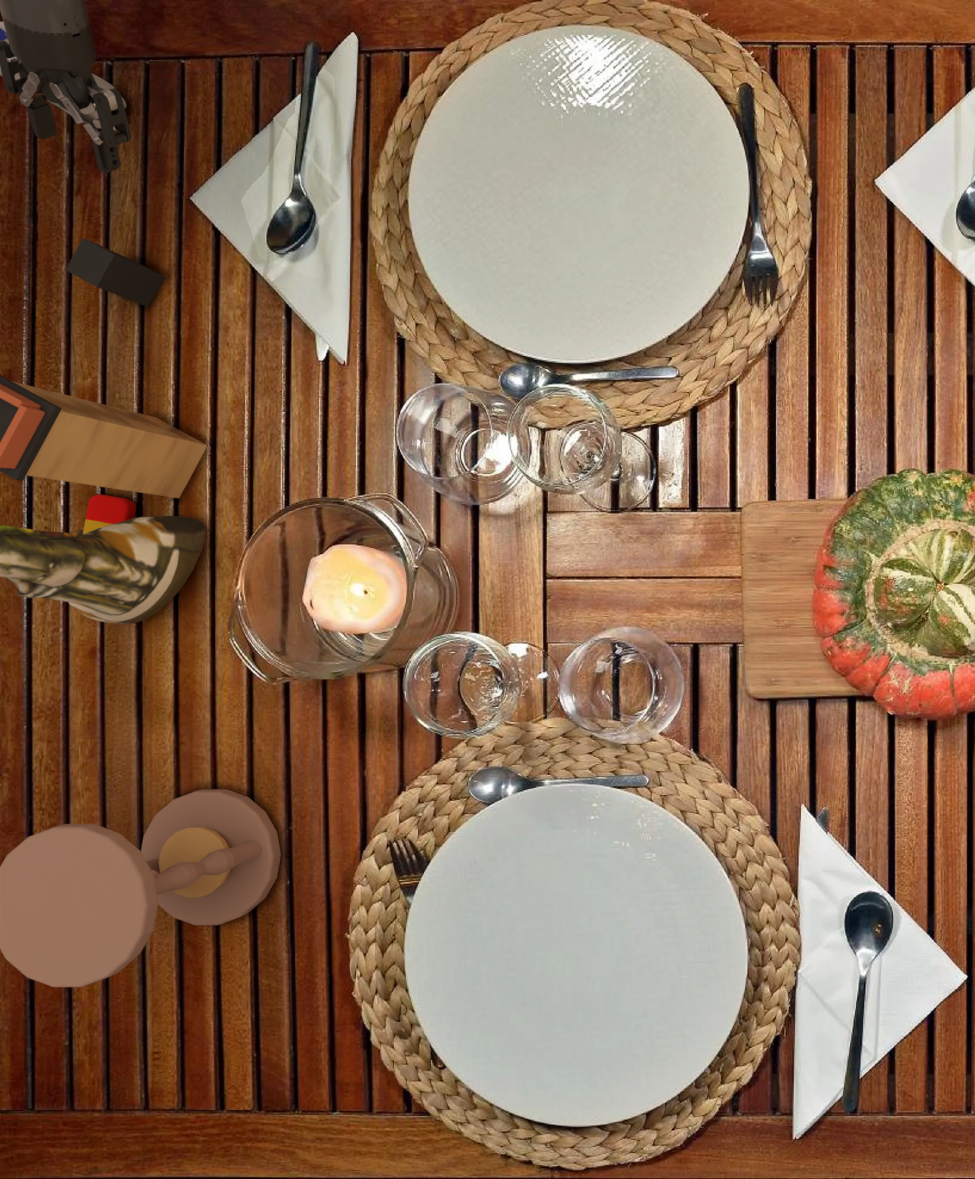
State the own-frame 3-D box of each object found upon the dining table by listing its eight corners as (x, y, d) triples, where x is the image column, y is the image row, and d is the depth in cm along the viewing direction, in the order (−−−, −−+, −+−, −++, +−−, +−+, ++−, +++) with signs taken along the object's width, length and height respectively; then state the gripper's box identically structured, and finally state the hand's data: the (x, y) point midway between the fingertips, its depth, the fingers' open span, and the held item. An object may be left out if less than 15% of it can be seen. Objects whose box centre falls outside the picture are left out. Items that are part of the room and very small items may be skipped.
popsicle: (139, 500, 142) (129, 499, 140) (119, 611, 142) (108, 612, 140) (99, 493, 142) (88, 492, 140) (79, 604, 142) (68, 604, 140)
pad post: (118, 291, 143) (65, 270, 134) (135, 261, 143) (82, 237, 134) (148, 307, 143) (96, 287, 134) (165, 277, 143) (114, 254, 134)
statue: (174, 496, 142) (-68, 460, 107) (237, 547, 142) (15, 527, 107) (97, 594, 142) (-170, 590, 107) (160, 645, 142) (-88, 657, 107)
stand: (127, 470, 142) (-42, 440, 117) (155, 417, 142) (-7, 376, 117) (179, 498, 142) (21, 474, 117) (207, 445, 142) (56, 410, 117)
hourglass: (284, 790, 141) (148, 829, 116) (280, 923, 141) (142, 991, 116) (152, 786, 141) (-11, 824, 116) (147, 919, 141) (-18, 986, 116)
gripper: (-48, -11, 111) (-5, 135, 123) (70, 51, 111) (102, 192, 122) (19, -26, 116) (55, 115, 128) (132, 34, 116) (157, 170, 127)
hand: (78, 153), depth 125 cm, fingers open, 8 cm apart
